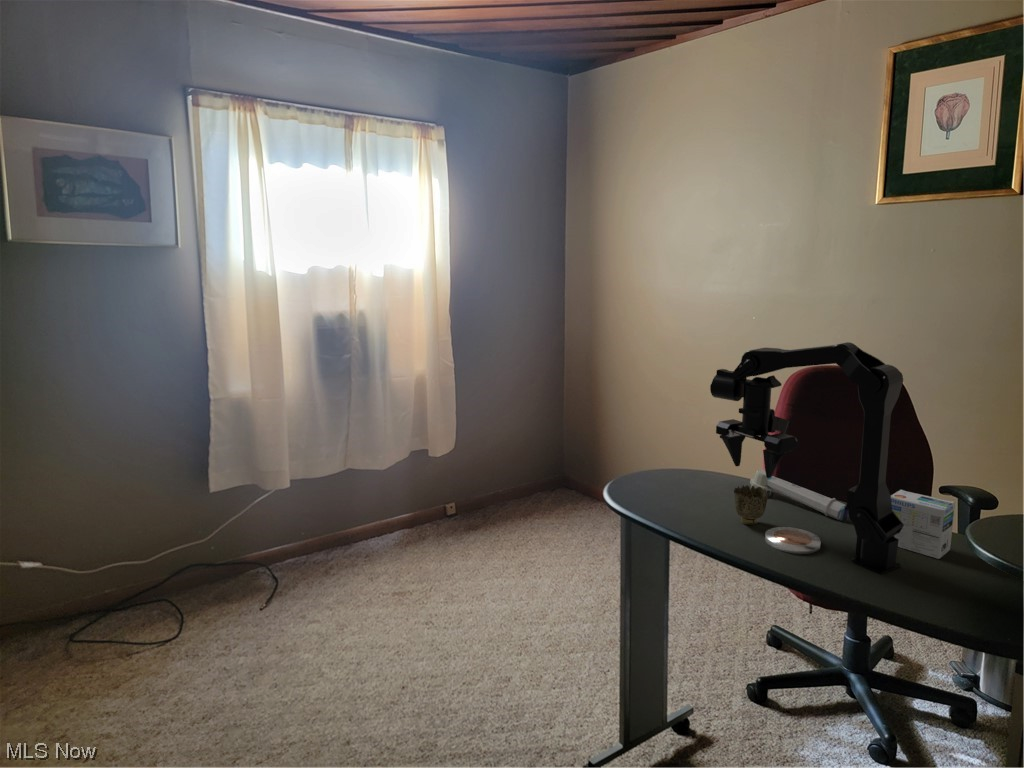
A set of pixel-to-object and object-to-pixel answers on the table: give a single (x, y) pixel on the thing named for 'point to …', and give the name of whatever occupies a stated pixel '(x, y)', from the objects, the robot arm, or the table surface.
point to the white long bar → (800, 495)
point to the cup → (750, 503)
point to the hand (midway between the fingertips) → (752, 471)
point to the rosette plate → (792, 540)
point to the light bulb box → (923, 523)
